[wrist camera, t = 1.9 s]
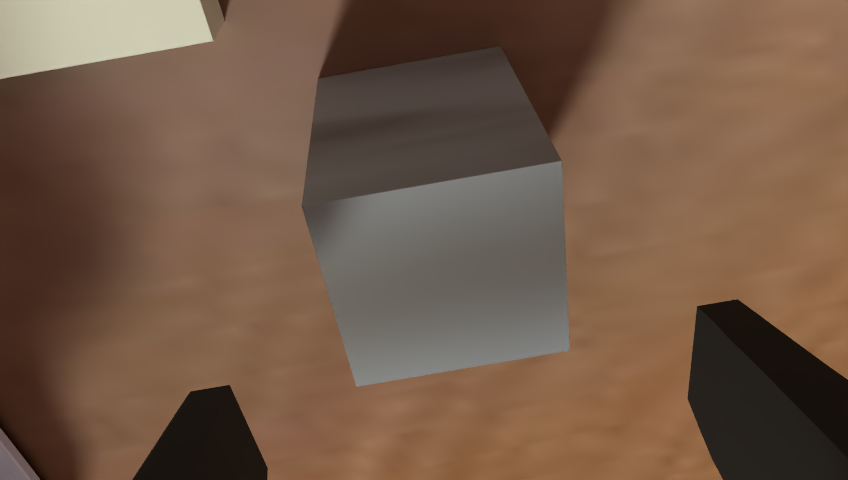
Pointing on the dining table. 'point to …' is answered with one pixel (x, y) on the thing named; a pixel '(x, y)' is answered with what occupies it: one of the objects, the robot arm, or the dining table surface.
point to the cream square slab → (98, 30)
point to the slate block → (437, 217)
